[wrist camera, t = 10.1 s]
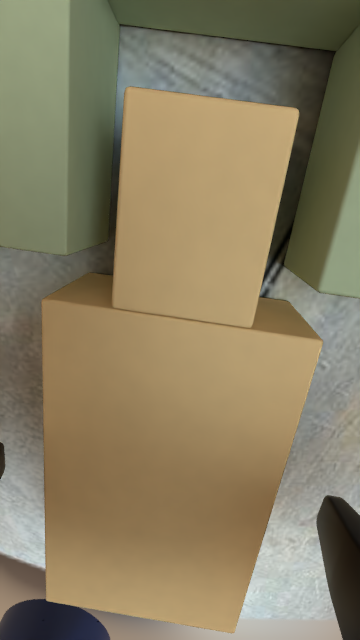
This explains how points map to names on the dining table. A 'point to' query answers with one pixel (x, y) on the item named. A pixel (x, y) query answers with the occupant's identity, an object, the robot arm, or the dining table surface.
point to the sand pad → (175, 371)
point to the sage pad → (99, 118)
